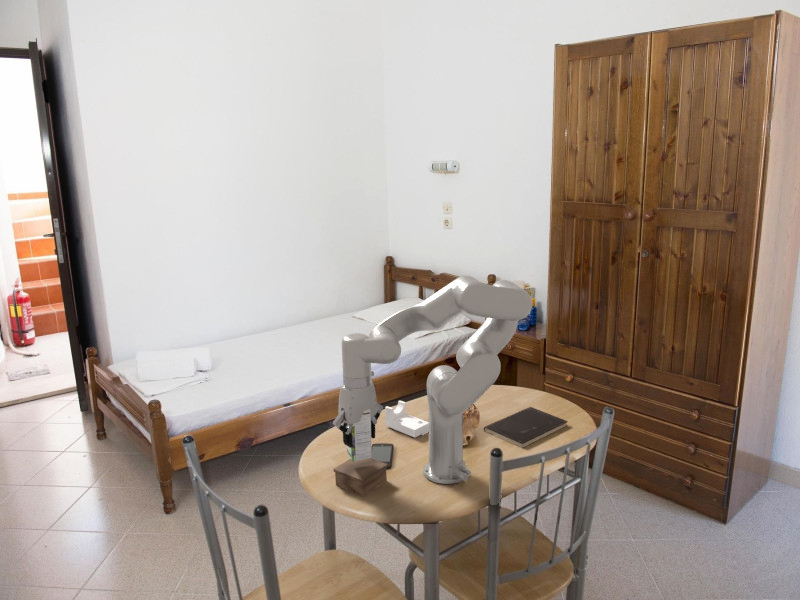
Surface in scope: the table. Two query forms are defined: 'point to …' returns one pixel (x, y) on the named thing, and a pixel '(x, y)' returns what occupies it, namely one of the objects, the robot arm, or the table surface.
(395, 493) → the table surface
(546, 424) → the hardcover book
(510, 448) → the table surface
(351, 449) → the syrup box
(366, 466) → the walnut box
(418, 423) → the bracket
